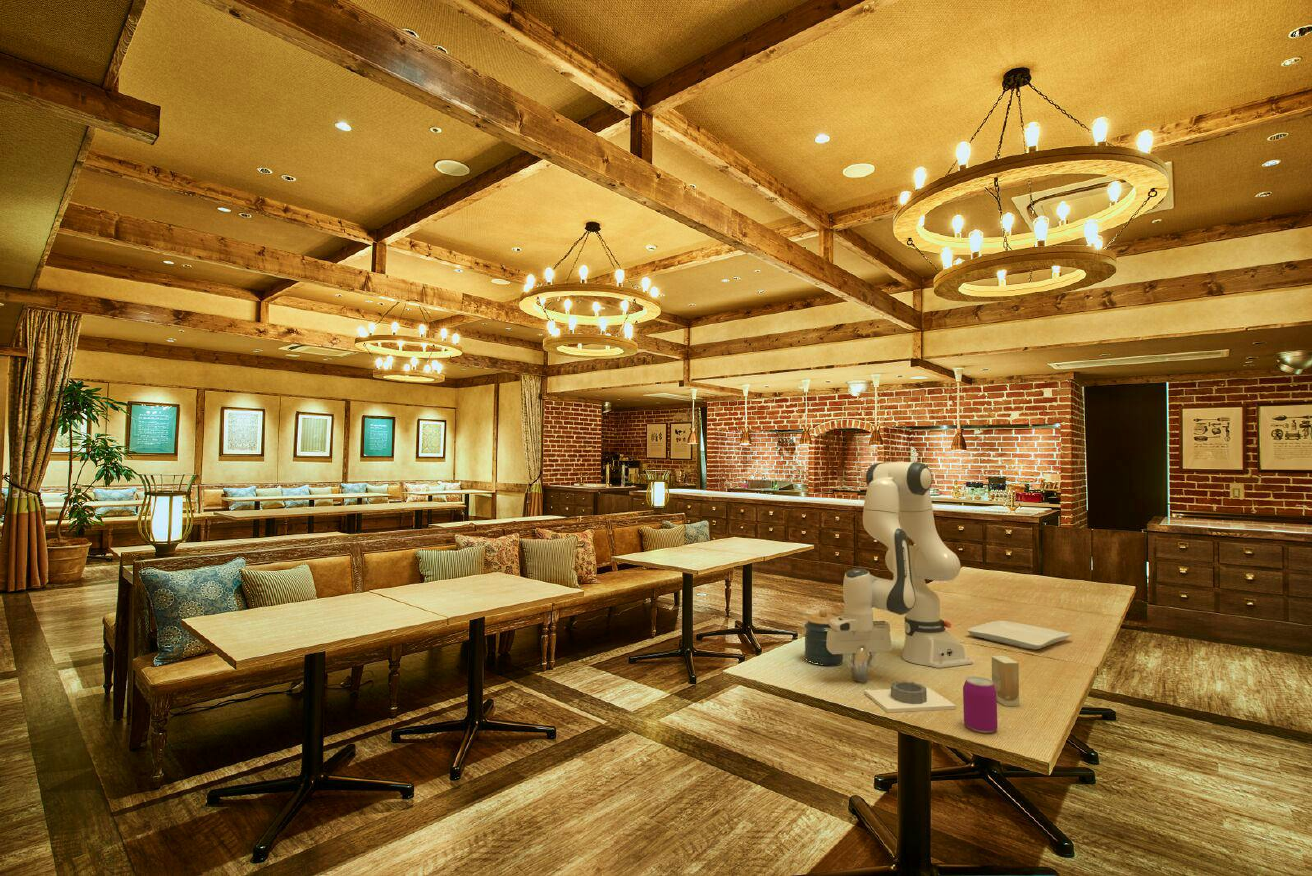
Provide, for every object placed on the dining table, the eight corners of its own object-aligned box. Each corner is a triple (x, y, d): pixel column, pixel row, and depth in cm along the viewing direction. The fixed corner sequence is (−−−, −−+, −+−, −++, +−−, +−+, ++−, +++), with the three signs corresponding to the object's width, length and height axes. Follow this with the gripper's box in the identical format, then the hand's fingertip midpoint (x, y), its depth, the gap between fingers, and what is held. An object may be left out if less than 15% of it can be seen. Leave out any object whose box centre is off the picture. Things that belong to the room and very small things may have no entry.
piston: (863, 675, 193) (862, 641, 194) (870, 680, 189) (869, 646, 189) (849, 676, 193) (848, 642, 193) (856, 681, 188) (855, 646, 188)
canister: (800, 663, 208) (799, 611, 209) (809, 653, 220) (808, 603, 220) (839, 669, 202) (838, 615, 203) (846, 658, 213) (845, 607, 214)
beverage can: (993, 737, 151) (992, 688, 151) (960, 728, 156) (958, 681, 157) (1001, 727, 157) (999, 680, 157) (968, 719, 162) (967, 673, 162)
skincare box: (991, 698, 176) (990, 655, 177) (1005, 697, 177) (1004, 655, 177) (1005, 707, 170) (1004, 662, 170) (1020, 706, 170) (1019, 662, 171)
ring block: (927, 690, 182) (927, 677, 182) (956, 709, 168) (955, 694, 169) (864, 693, 180) (864, 680, 180) (887, 712, 166) (887, 697, 166)
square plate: (1072, 643, 233) (1072, 632, 233) (1039, 655, 217) (1039, 644, 218) (1000, 627, 255) (999, 618, 255) (964, 638, 240) (964, 628, 240)
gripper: (884, 617, 196) (886, 661, 195) (823, 620, 193) (825, 664, 193) (894, 623, 189) (896, 667, 189) (831, 626, 187) (832, 671, 187)
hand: (859, 666), depth 191 cm, fingers closed on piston, 5 cm apart
